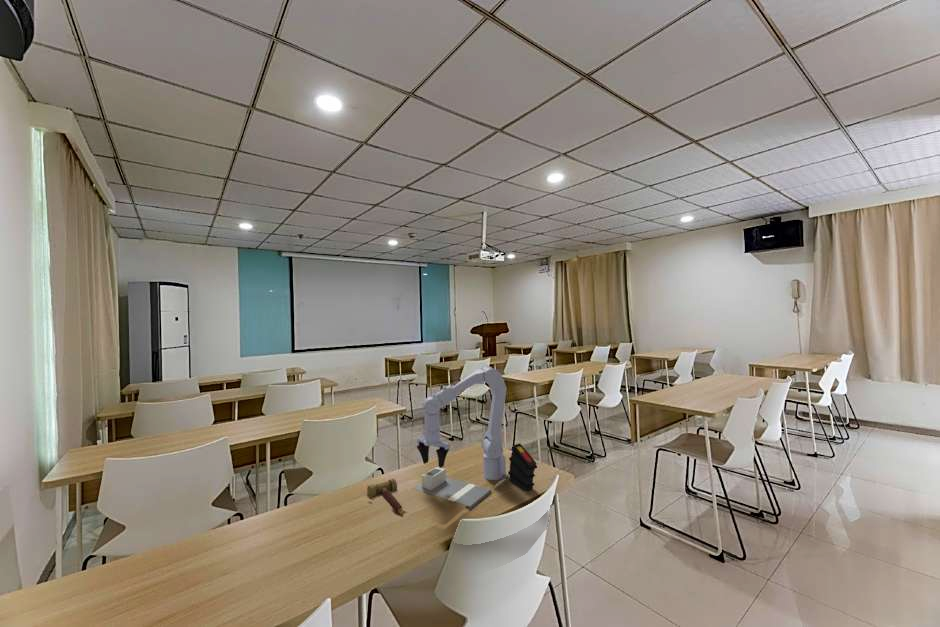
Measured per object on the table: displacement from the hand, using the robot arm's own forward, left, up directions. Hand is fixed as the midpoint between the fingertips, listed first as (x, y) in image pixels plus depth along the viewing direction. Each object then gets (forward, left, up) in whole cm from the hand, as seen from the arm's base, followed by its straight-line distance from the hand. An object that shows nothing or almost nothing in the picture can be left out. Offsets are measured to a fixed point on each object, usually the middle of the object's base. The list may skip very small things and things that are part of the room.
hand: (433, 464), depth 146 cm
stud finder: (0, 0, -7) cm, 7 cm away
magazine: (-17, +29, -9) cm, 35 cm away
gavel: (+17, -6, -9) cm, 20 cm away
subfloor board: (0, +8, -8) cm, 12 cm away
